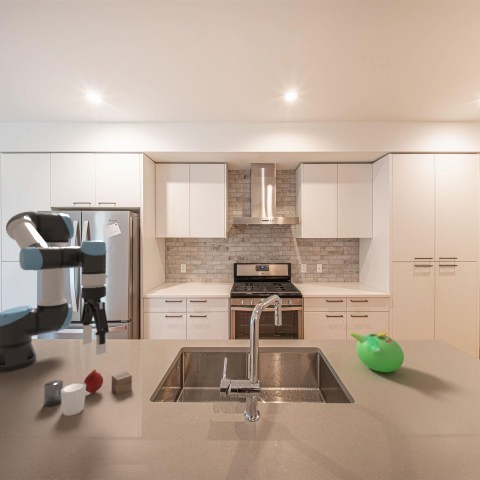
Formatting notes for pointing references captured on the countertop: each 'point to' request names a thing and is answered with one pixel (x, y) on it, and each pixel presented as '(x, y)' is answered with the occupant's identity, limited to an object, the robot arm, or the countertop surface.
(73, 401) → the white short cylinder
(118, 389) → the walnut block
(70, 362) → the countertop surface
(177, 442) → the countertop surface
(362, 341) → the toy bird
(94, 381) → the onion
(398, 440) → the countertop surface
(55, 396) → the metal tin
